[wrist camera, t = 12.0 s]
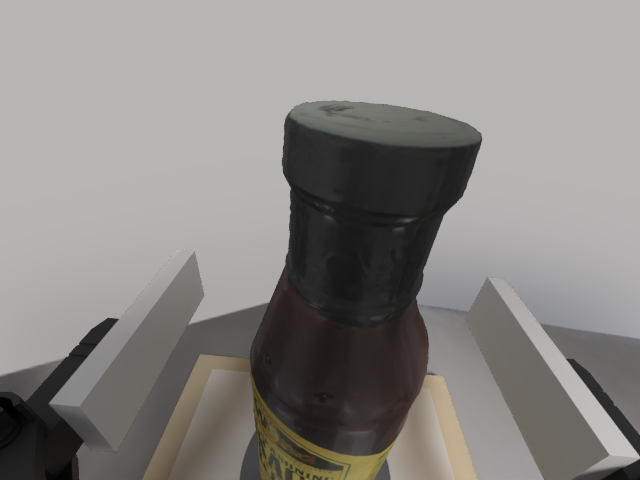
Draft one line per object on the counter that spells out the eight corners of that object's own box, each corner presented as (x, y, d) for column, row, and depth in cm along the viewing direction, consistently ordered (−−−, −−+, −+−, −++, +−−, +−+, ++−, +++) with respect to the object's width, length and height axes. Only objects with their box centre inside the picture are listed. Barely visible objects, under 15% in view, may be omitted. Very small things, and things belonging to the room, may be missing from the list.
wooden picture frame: (440, 381, 23) (444, 375, 23) (546, 713, 11) (559, 715, 11) (201, 360, 23) (199, 352, 23) (63, 667, 12) (52, 667, 11)
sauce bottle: (245, 451, 17) (175, 91, 7) (325, 396, 20) (365, 92, 10) (299, 590, 13) (350, 175, 2) (392, 492, 16) (592, 128, 5)
